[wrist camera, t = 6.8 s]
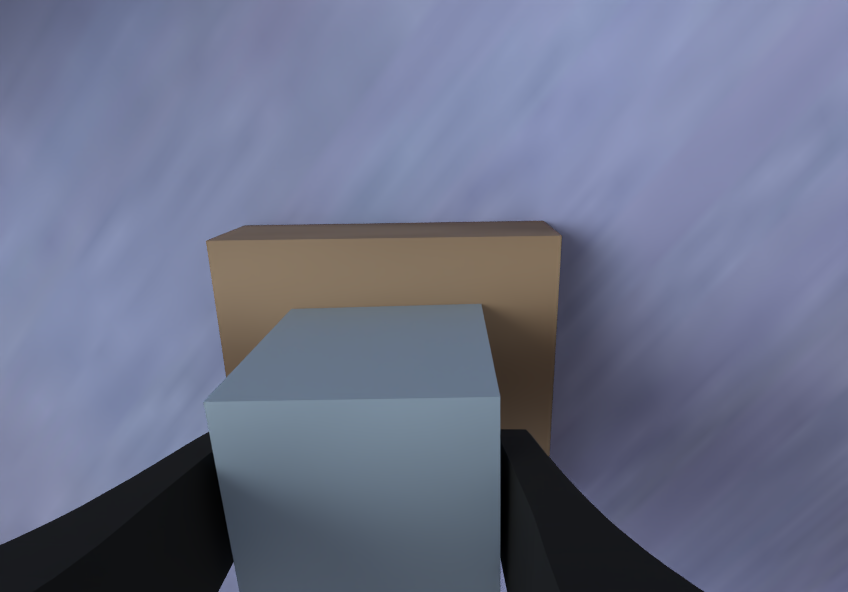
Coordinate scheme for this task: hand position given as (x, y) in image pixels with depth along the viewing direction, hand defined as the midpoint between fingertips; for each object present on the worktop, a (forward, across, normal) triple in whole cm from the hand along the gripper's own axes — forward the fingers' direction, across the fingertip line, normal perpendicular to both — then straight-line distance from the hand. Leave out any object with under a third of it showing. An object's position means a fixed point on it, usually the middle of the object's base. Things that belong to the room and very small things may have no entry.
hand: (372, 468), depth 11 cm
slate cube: (+3, 0, 0) cm, 3 cm away
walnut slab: (+6, 0, 0) cm, 6 cm away
